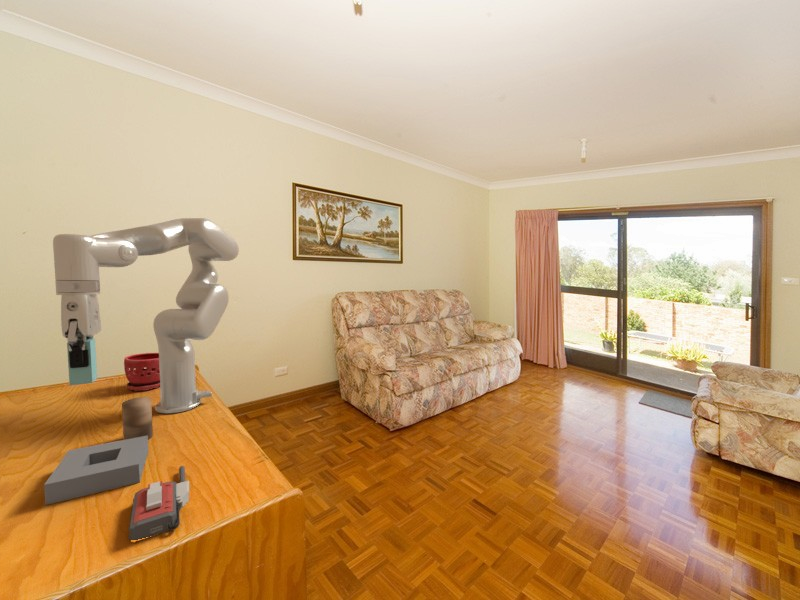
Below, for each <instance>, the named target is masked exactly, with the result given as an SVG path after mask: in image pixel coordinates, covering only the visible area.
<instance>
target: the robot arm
mask: <svg viewBox="0 0 800 600" xmlns="http://www.w3.org/2000/svg"><path fill="white" fill-rule="evenodd" d="M187 246H188V254H189V257H190V261H191V272H190V273H189V275H188V276H187V278H186V279H185V281H184V283H183V285H182V286H181V287H180V289H179V291H178V292H177V295H176V297H175V303H176V305H177V307H179V308H169V309H165V310H161V311H160V312H159V313H157V315H155V317H154V320H153V325H152V326H153V331H154V336H155V338H156V341H157V348H158V353H159V369H160V387H159V388H160V389H159V391H160V402H157V403H156V404H155V406H154V410H155V411H156V412H157V413H159V414H175V413H176V414H177V413H182V412H187V411H190V410H193V409H195V408H197V407H199V406H200V405H201V404H202V402H203V401H202V398H211V397H212V396H213V395H212V394H213V393H212V390H208V389H205V390H198V387H196V385H197V383H196V361H195V360H196V358H195V349H194V348H195V347H194V345H193V343H192V341H204V340H206V339H208V338H210V336H211V335H213V333H214V332H215V330H216V328H217V327H218V324H219V323H220V322H221V319H222V317H223V315H224V314H225V311H226V309H227V307H228V304H229V296H230V295H229V293H228V290H227V288H226V287H225V286H223V285H222V284H219V283H217V282H218V279H219V274H218V271H217V269H216V268H215V265H214V263H213V262H230V261H233V260H235V259H236V258H237V256H238V255H239V252H240V251H239V245H238V243H237V241H236V240H235V238H233V236H232V235H230V234H229V233H228V232H226V231H225V230H224V229H223V228H221V227H220V226H219V225H218V224H217V223H215V222H213V221H212V220H210V219H208V218H204V217H200V218H199V217H193V218H192V217H189V218H187V217H186V218H184V217H183V218H177V219H176V218H175V219H172V220H166V221H163V222H158V223H153V224H148V225H143V226H136V227H131V228H126V229H119V230H114V231H113V230H112V231H107V232H103V233H102V232H101V233H97V234H93V235H92V234H91V235H87V234H75V233H61V234H56V235H55V236H54V237H53V240H52V248H53V262H54V263H53V264H54V265H53V266H54V279H55V281H54V282H55V283H54V285H55V295H56V296H61V297H60V298H61V299H60V321H61V324H60V325H61V333H62V336H63V338H66V341H67V343H69V360H70V368H81V367H88V366H89V355H88V350H86V339H94V336H95V335H97V334H98V333H100V332H101V331H102V322H101V313H100V306H99V300H98V295H100V294H101V286H100V285H101V282H100V281H101V280H100V268H125V267H128V266H131V265H132V264H134V263H135V262H136V261H137V259H138V257H140V256H141V257H142V256H143V257H144V256H154V255H161V254H165V253H167V252H168V253H169V252H171V251H173V250H176V249H179V248H180V249H181V248H183V247H187ZM81 339H82V343H81V341H80V340H81ZM201 401H202V402H201ZM200 403H201V404H200ZM199 404H200V405H199ZM198 405H199V406H198ZM196 406H197V407H196ZM194 407H195V408H194ZM192 408H193V409H192Z"/></svg>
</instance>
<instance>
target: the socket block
mask: <svg viewBox="0 0 800 600" xmlns="http://www.w3.org/2000/svg"><path fill="white" fill-rule="evenodd" d="M148 455H149V440H148V435H147V436H142V437H137V438H131V439H126V440H124V439H121V440H116V441H110V442H106V443H100V444H99V443H98V444H95V445H90V446H83V447H79V448H74V449H69V450H68V451H67V452H66V454H65V455H64V457H62V459H61V461H60V462H59V464H58V465H57V466H56V468H55V469H54V470H53V472H52V473H51V474H50V476H49V477H48V479H47V480H46V481H45V483H44V484H43V489H44V490H43V491H44V501H45V502H44V503H45V506H47V505H53V504H57V503H61V502H64V501H69V500H73V499H77V498H80V497H81V498H82V497H85V496H91V495H93V494H97V493H102V492H106V491H110V490H114V489H117V488H123V487H127V486H131V485H134V484H138V483H140V482H141V479H142V476H143V472H144V468H145V465H146V461H147V458H148Z"/></svg>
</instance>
